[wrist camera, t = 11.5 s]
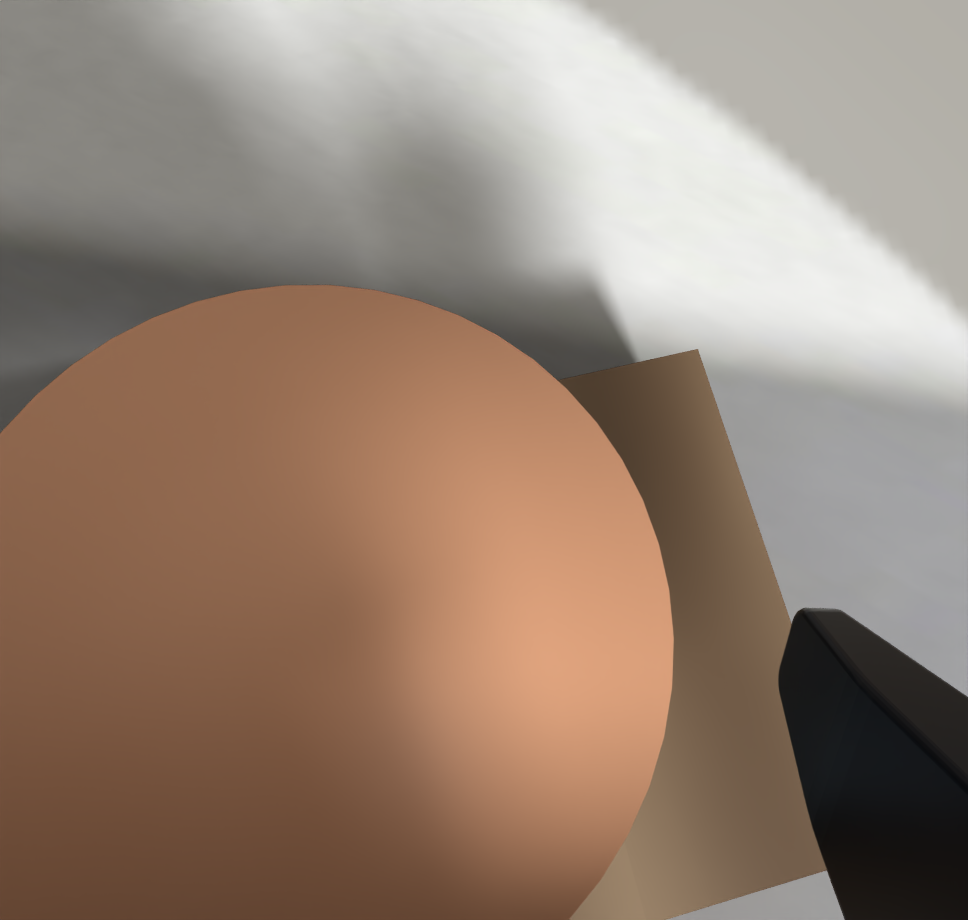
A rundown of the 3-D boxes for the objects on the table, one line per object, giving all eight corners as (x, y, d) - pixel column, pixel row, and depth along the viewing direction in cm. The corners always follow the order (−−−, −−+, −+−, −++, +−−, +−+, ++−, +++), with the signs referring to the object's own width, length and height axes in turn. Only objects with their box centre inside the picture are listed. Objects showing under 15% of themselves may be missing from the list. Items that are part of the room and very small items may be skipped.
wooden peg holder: (-752, 1300, 14) (-1050, 1446, 11) (-708, 715, 16) (-946, 713, 14) (797, 835, 18) (871, 856, 15) (657, 403, 20) (697, 349, 17)
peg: (375, 870, 17) (253, 1264, 5) (222, 691, 18) (-252, 608, 5) (544, 700, 18) (821, 642, 6) (393, 538, 19) (339, 162, 6)
